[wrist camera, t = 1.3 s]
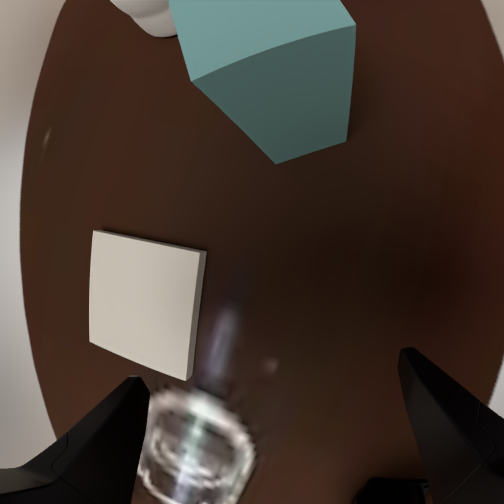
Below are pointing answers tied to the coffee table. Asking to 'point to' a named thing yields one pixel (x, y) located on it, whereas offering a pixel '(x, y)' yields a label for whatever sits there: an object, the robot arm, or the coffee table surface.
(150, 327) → the cream tile
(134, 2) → the water bottle
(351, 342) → the coffee table surface
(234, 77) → the teal block
